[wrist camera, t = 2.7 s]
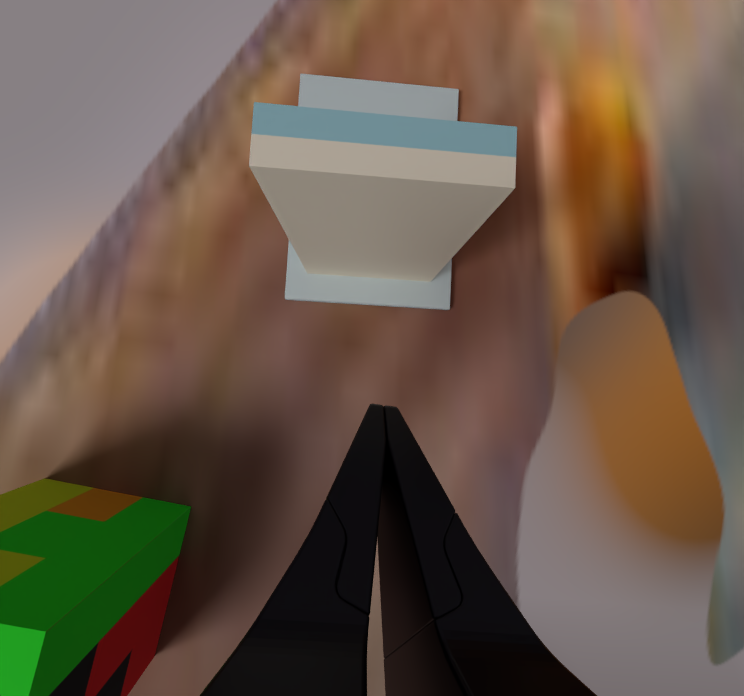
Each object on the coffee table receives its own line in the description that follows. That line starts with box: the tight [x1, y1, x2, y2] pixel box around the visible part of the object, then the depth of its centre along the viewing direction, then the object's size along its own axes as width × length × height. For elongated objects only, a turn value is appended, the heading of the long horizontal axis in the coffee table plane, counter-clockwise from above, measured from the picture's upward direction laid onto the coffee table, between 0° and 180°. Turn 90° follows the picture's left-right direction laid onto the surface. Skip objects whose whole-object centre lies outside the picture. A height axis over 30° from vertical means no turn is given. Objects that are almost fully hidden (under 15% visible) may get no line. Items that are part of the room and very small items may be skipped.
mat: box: [285, 74, 459, 310], centre depth 23 cm, size 17×12×1 cm
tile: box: [249, 102, 517, 282], centre depth 16 cm, size 2×9×12 cm, turn 87°
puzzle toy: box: [0, 479, 191, 696], centre depth 16 cm, size 10×10×10 cm
